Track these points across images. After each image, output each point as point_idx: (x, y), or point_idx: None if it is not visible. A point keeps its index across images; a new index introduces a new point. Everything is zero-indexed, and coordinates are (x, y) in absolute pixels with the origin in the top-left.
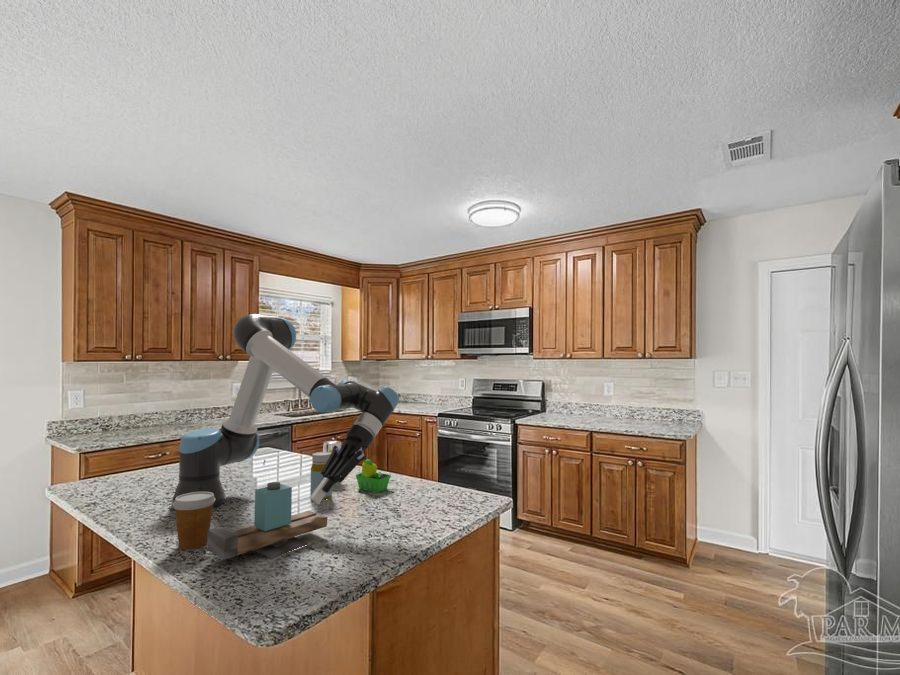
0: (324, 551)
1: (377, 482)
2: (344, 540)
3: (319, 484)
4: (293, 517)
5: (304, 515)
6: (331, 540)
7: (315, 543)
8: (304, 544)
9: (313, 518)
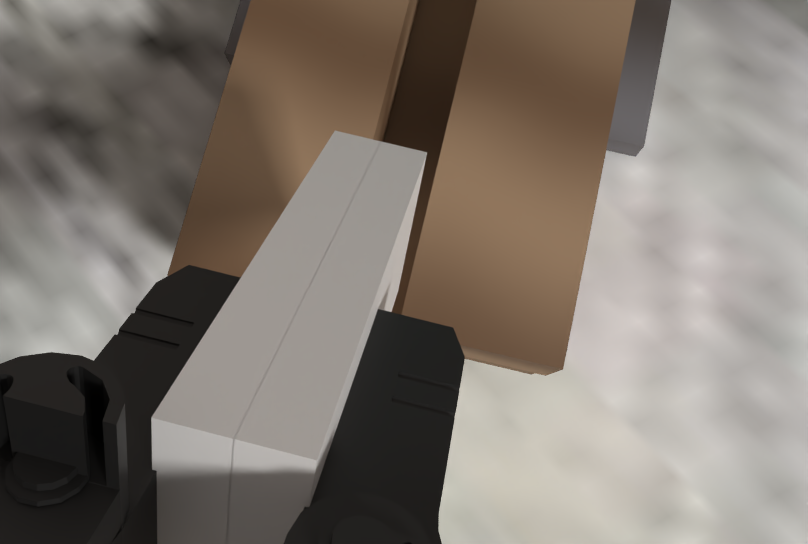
0: (30, 47)
1: None
2: (10, 307)
3: (360, 304)
4: (528, 85)
5: (465, 194)
6: (123, 253)
7: None
8: (233, 24)
9: (287, 160)
